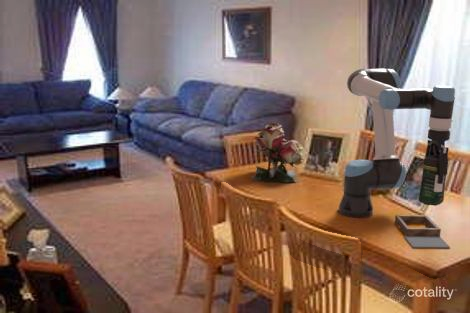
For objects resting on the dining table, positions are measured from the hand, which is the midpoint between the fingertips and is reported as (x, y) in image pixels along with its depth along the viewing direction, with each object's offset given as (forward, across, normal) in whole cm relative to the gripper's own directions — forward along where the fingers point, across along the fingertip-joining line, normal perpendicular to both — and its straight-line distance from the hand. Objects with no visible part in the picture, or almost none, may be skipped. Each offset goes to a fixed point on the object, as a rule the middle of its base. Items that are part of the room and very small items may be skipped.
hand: (432, 187), depth 189 cm
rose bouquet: (+23, +88, +51) cm, 105 cm away
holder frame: (+23, +14, -1) cm, 27 cm away
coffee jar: (+6, 0, 0) cm, 6 cm away
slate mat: (+23, 0, 0) cm, 23 cm away
